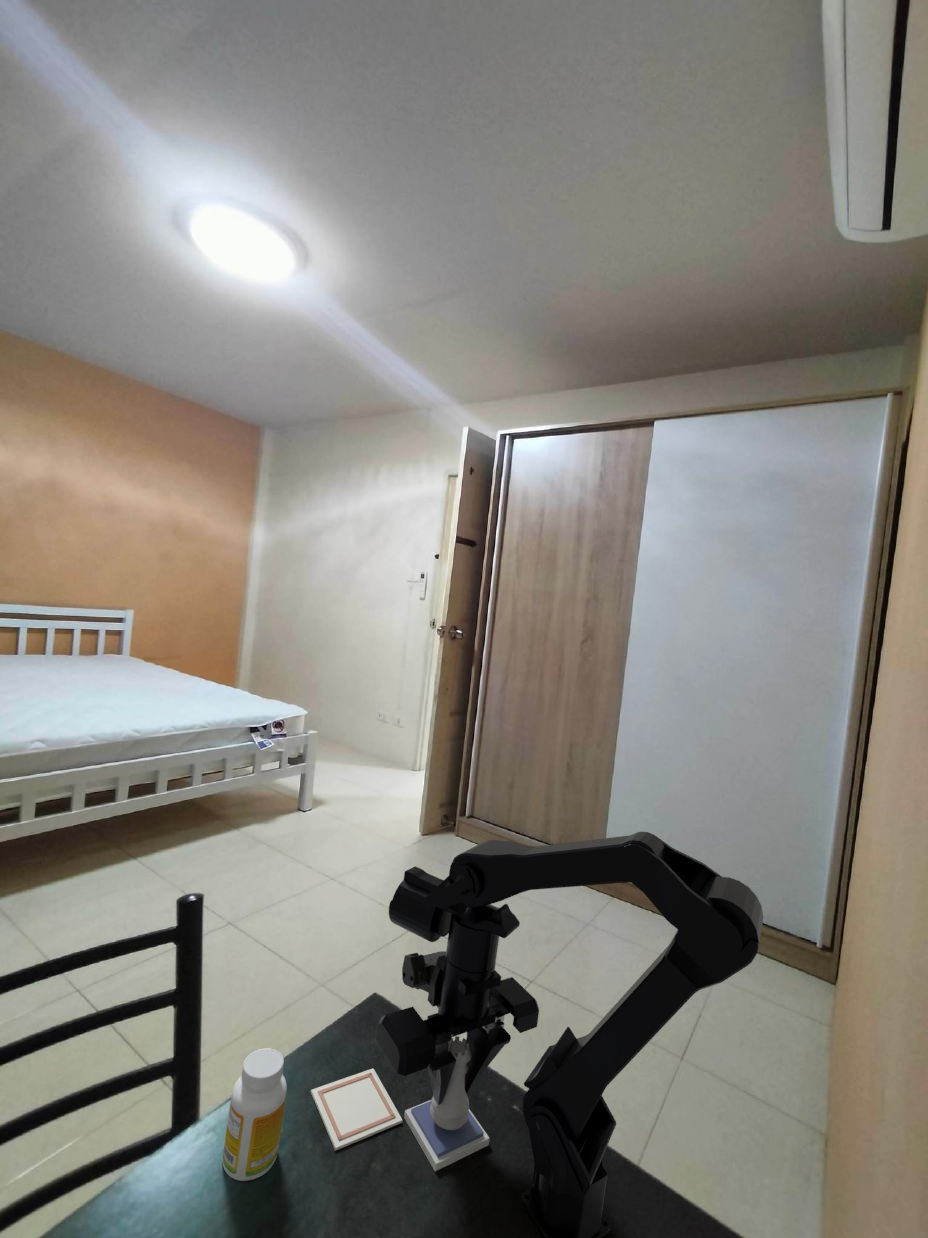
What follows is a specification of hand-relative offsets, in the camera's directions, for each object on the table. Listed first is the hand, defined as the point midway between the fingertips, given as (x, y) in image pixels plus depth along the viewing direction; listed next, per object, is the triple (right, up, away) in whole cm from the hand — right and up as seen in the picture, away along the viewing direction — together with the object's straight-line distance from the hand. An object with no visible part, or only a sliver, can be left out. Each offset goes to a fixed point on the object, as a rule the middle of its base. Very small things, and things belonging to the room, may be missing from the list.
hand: (451, 1095), depth 63 cm
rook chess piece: (0, -2, 0) cm, 2 cm away
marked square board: (-11, -3, +1) cm, 11 cm away
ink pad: (-1, -4, 0) cm, 4 cm away
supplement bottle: (-21, -1, -6) cm, 21 cm away
